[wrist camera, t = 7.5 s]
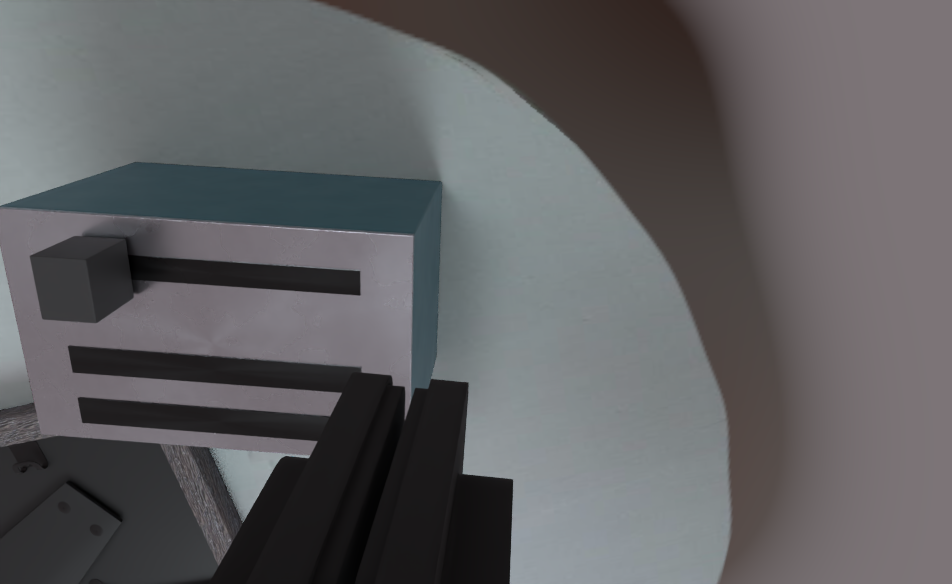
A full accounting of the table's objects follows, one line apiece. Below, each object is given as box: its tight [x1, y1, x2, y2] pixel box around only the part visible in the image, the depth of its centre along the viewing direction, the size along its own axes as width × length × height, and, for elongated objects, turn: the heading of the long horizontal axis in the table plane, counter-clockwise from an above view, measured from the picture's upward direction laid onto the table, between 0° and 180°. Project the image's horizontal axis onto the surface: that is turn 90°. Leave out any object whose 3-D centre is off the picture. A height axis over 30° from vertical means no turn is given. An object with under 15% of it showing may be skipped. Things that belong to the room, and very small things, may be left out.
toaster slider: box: [30, 236, 134, 323], centre depth 24 cm, size 2×2×2 cm
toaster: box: [0, 162, 442, 455], centre depth 31 cm, size 10×16×10 cm, turn 87°
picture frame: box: [0, 403, 242, 584], centre depth 42 cm, size 16×2×21 cm
